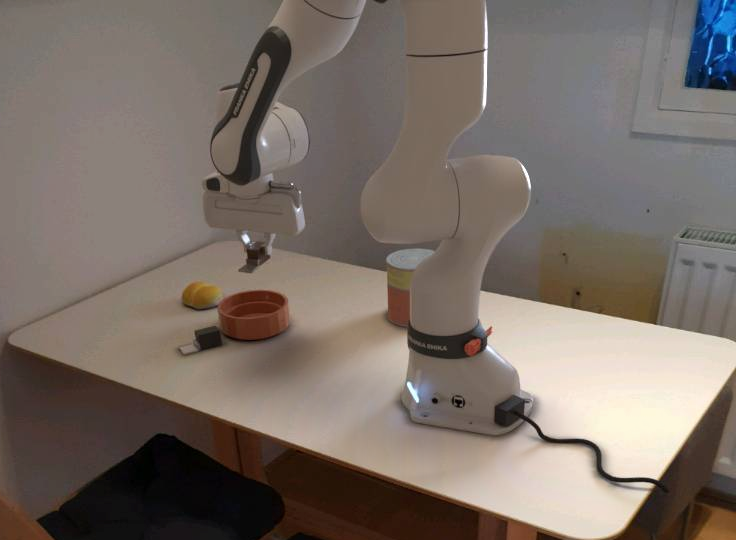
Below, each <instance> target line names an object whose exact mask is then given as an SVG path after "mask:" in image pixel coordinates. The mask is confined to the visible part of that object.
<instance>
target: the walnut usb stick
mask: <svg viewBox="0 0 736 540" xmlns="http://www.w3.org/2000/svg"><path fill="white" fill-rule="evenodd" d="M264 243H266V241H259V240H257V241H255V242H254V244H253V245H251V246H250V247H249V248H247V249H246V250H247V253H246V257H247V258H245V264H243V266H241V267H240V268H239V269H238V270H237V271H238V272H239V273H245V274H253V273H255V272H256V271H258V270H259V269H260V267H262V265H263V264H265V263H266V262H267V261H269V260H270V259H271V254H270V255H264V254H262V252H261V251H262V250H261V245H263V244H264ZM238 272H237V273H238Z"/></svg>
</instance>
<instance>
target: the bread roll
mask: <svg viewBox="0 0 736 540" xmlns="http://www.w3.org/2000/svg"><path fill="white" fill-rule="evenodd" d="M223 299H224V294H223V291H222V290H221V288H220V287H219V286H217V285H211V284H209V283H206V282H204V281H195V282H192V283H189V284H188V285H187V286H186V287H185V288H184V289H183V291H182V293H181V300H182V302H183V304H185V305H187V306H188V307H192V308H194V309H197V310H204V309H210V308H211V309H212V308H214V307H216V306H218V304H219V303H220V302H221V301H222V300H223Z"/></svg>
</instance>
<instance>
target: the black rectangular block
mask: <svg viewBox="0 0 736 540" xmlns="http://www.w3.org/2000/svg"><path fill="white" fill-rule="evenodd" d="M193 332H194V337H195V338H194V339H192V344H187V345H184V346H180V347H179V351H180V352H181V353H182V355H183V356H187V355H191V354H193V353H198V352H201V351H204V350H207V349H211V348H214V347H218V346H223V341H222V333H221V329H220V328H219V327H218V326H217V325H212V326H208V327H204V328H200V329H195V330H193Z"/></svg>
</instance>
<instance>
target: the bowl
mask: <svg viewBox="0 0 736 540" xmlns="http://www.w3.org/2000/svg"><path fill="white" fill-rule="evenodd" d="M289 305H290V304H289V298H288V297H287V296H286V294H283V293H281V292H279V291H275V290H270V289H251V290H250V289H248V290H242V291H239V292H236V293H233V294H230V295H228V296H226V297H223V299H222V301H221V302H220V303H219V304H218V305H217V314H218V320H219V326H220V331H221V332H222V333H223V334H224V335H226V336H227V337H231V338H234V339H238V340H245V341H253V340H255V341H256V340H262V339H267V338H271V337H273V336H275V335H279V334H280V333H282V332H284V331H285V330H286V329H287V328H288V327H289V325H290V324H291V314H290V306H289Z"/></svg>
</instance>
